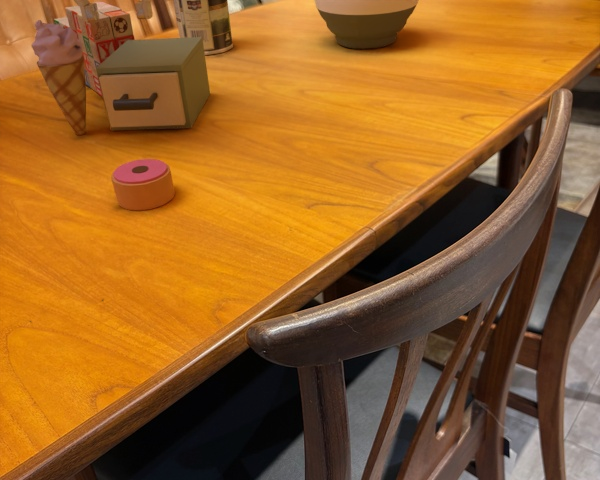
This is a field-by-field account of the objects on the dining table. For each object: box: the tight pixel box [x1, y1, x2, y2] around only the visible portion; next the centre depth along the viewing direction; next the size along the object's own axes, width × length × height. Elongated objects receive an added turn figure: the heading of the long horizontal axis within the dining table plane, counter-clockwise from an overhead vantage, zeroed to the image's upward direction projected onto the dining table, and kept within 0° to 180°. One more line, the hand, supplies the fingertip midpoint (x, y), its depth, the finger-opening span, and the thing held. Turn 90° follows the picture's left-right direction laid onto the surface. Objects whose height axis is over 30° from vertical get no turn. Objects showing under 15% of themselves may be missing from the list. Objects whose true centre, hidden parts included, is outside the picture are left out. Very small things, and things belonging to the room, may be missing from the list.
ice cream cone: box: [31, 19, 87, 136], centre depth 82 cm, size 7×6×15 cm
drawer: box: [99, 71, 186, 127], centre depth 86 cm, size 18×10×7 cm, turn 176°
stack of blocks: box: [53, 1, 136, 98], centre depth 101 cm, size 21×6×12 cm, turn 34°
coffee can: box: [173, 0, 234, 56], centre depth 116 cm, size 10×10×14 cm
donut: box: [110, 158, 176, 211], centre depth 68 cm, size 6×6×3 cm
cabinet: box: [96, 37, 211, 131], centre depth 89 cm, size 15×12×9 cm
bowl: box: [314, 0, 419, 50], centre depth 114 cm, size 20×20×10 cm
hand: (118, 19), depth 74 cm, fingers open, 5 cm apart
